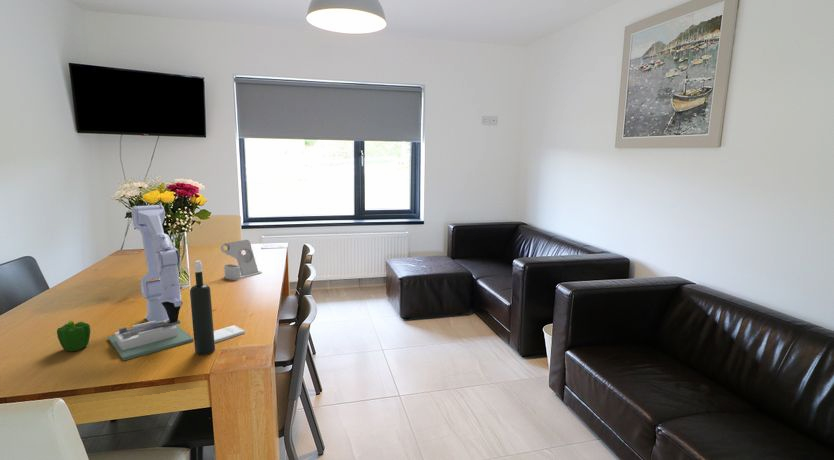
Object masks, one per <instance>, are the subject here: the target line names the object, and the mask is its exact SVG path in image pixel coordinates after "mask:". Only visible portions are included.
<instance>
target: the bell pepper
mask: <svg viewBox="0 0 834 460" xmlns="http://www.w3.org/2000/svg"><path fill="white" fill-rule="evenodd" d="M56 335H57V339H58V341H59V344H60V346H61V347H62V348H61V349H64V350H65V351H67V352H76V351H77V352H78V351H80V350H82V349H83V348H85V347H86V346H88V345H89V343H90V337H91V326H90V324H89V323H87V322H84V321H78V322H76V323H74V321H73V320H69V321H68V322H67V323H66V324H64V325H63V326H61V327H58V328H57V330H56Z"/></svg>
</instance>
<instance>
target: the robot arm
mask: <svg viewBox="0 0 834 460" xmlns="http://www.w3.org/2000/svg"><path fill="white" fill-rule="evenodd" d="M131 219H132V225H133V227H134V229H136V230H139V232H140V234H141V238H142V244H143V245H142V246H143V250H144V257H145V262H146V268H147V272H146V274H145V275H143V276H142V277H141V279H140V291H141V296H142V298H143V299H145V300H146V314H147V315H145V316H144V319H146V320H147V322H150V321H156V322H161V321H165V320H170V322H174V321H177V320H179V314H180V309H181V308H182V305H183V301H182V294H181V285H180V273H179V265H180V263H181V258H180V252H179V250H178V249H177V248H176V246H173V243H172V240H171V238H170V236H169V235H168V234H167V233H165V232H164V227H163V223H164V221H165V219H166V212H165V207H164V205H162V204H151V205H137V206H136V205H133V206H132V207H131Z"/></svg>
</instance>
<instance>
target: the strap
mask: <svg viewBox="0 0 834 460" xmlns="http://www.w3.org/2000/svg"><path fill="white" fill-rule="evenodd" d="M167 321H168V323H166V324H164V321H162V322H158V323H154V324H149V325H145V326H141V327H136V328H132V327H131V328H132V329H131V328H128V330H126V331H125V330H123V331H122V333H127V332H131V335H134V334H138V333H140V332H144V331H148V330H152V329H157V328H161V327H167V326H172V325H176V324H177V325H179V324H181V321H180V319H178V320H177V321H174V322H170V320H167Z"/></svg>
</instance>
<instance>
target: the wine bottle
mask: <svg viewBox="0 0 834 460" xmlns="http://www.w3.org/2000/svg"><path fill="white" fill-rule="evenodd" d="M202 264H203V263H202V260H195V261H194V262H193V267H194V276H195V284H194V285H193V286H192V287H191V288H190V289H189V296H190V297H189V299H190V307H191V311H190V312H191V320H192V321H191V322H192V332H193V346H194V354H195V355H197V356H206V355H210V354H212V353H214V352H215V351H216V346H215V345H216V343H215V342H214V331H215V330H214V319H213V317H214V316H213V306H212V305H213V304H212V294H211V293H212V292H211V287H210V286H209V285H208V284H205V283H204V279H203V265H202Z"/></svg>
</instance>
